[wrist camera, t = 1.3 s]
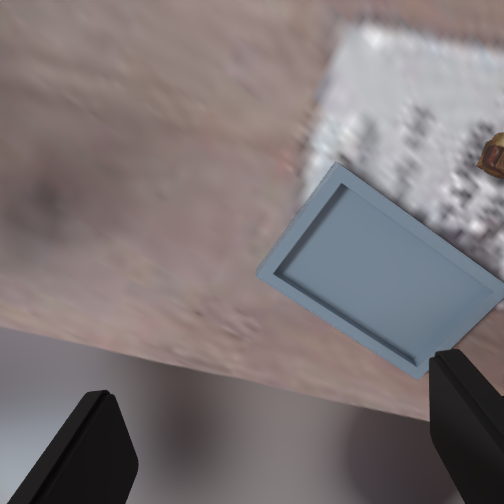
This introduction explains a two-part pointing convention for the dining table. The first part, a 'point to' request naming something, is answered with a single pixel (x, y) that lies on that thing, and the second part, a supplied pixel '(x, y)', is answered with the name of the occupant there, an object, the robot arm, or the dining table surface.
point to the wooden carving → (493, 156)
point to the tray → (378, 274)
